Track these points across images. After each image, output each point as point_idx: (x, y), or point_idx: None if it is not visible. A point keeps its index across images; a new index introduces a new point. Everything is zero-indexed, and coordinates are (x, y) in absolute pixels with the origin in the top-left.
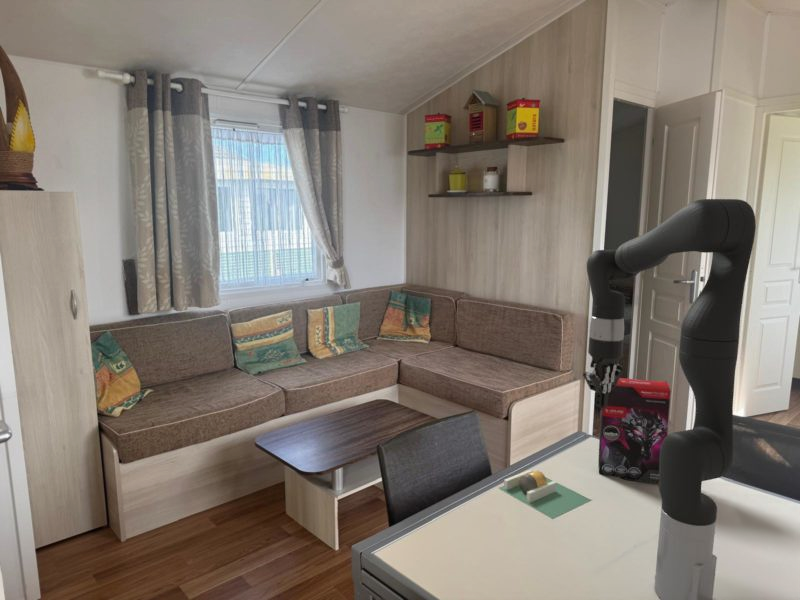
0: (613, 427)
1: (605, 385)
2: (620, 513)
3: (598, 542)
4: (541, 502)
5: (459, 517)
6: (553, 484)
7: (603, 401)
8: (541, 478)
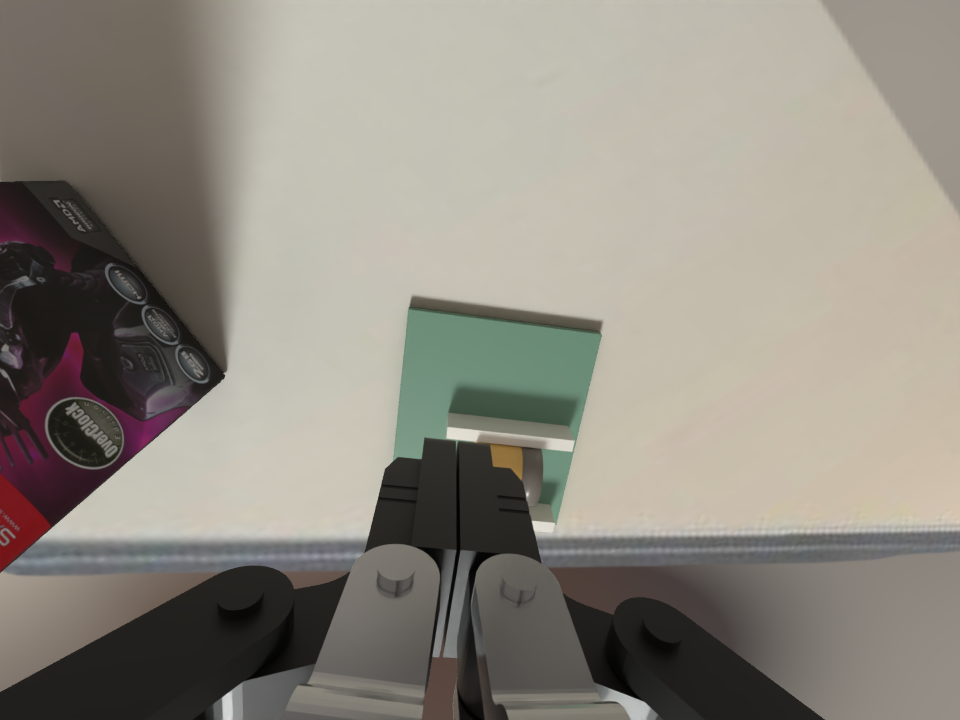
0: (56, 441)
1: (526, 682)
2: (395, 207)
3: (608, 177)
4: (540, 405)
5: (739, 501)
6: (461, 426)
7: (493, 490)
8: (494, 461)
